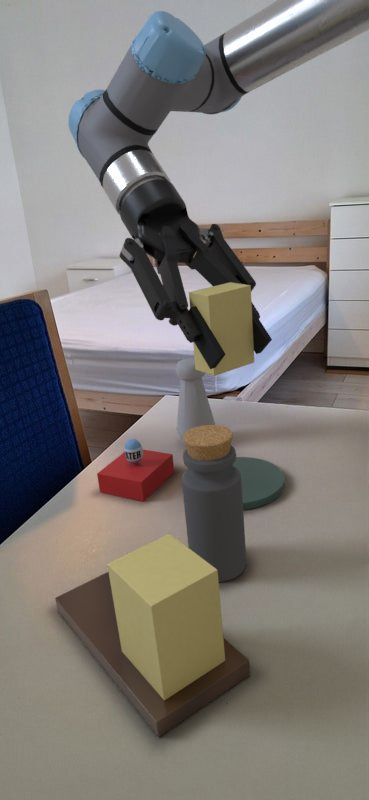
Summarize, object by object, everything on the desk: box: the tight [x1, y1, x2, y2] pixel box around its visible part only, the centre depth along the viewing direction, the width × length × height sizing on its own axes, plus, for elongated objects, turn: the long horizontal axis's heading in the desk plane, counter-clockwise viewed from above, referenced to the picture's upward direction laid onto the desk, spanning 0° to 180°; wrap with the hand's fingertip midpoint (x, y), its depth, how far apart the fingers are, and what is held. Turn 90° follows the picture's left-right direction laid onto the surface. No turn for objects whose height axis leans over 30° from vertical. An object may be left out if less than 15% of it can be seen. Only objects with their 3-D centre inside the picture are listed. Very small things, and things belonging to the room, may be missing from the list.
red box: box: [96, 438, 175, 502], centre depth 79 cm, size 8×7×6 cm
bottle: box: [181, 424, 247, 583], centre depth 60 cm, size 6×6×15 cm
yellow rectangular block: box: [188, 282, 255, 377], centre depth 67 cm, size 6×4×9 cm, turn 126°
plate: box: [233, 456, 286, 511], centre depth 77 cm, size 12×12×1 cm
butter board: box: [54, 571, 251, 738], centre depth 53 cm, size 9×18×2 cm, turn 36°
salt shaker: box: [175, 357, 216, 445], centre depth 88 cm, size 6×6×13 cm
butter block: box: [107, 533, 225, 700], centre depth 48 cm, size 6×6×9 cm
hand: (241, 353), depth 66 cm, fingers closed on yellow rectangular block, 6 cm apart
